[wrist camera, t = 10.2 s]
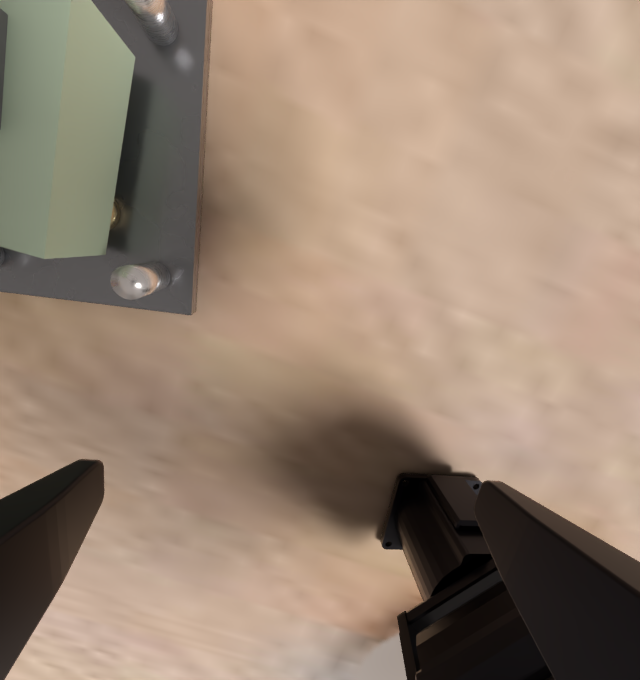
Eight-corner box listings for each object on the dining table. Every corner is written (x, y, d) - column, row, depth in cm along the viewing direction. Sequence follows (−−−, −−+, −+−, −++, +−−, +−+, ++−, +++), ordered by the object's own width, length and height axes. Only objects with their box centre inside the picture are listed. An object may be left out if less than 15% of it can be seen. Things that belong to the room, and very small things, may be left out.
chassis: (195, 311, 18) (173, 329, 14) (-32, 282, 16) (-130, 294, 12) (212, 1, 14) (187, -90, 10) (-84, -81, 12) (-247, -227, 8)
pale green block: (105, 255, 15) (31, 260, 10) (-21, 217, 14) (-163, 205, 9) (135, 56, 13) (59, -41, 8) (-10, -4, 12) (-183, -152, 7)
